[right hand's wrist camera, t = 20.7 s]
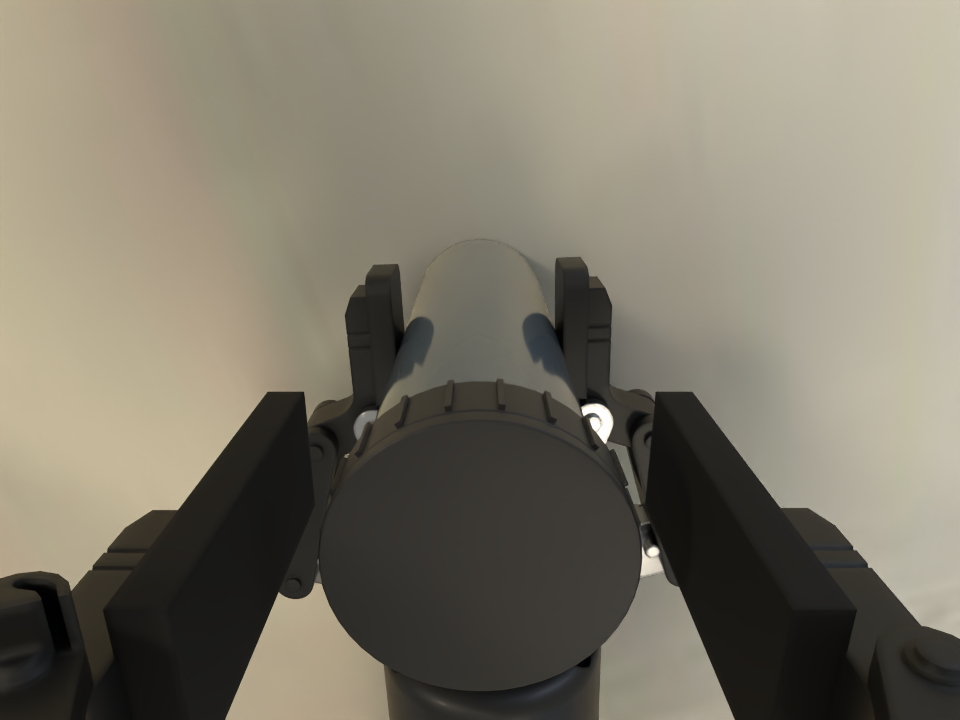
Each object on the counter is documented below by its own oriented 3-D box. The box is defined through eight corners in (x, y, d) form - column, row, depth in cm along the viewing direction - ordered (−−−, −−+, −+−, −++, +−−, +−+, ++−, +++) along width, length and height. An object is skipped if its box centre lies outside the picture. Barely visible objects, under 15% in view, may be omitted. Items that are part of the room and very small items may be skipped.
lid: (620, 625, 13) (638, 690, 12) (349, 631, 13) (332, 698, 12) (632, 371, 11) (655, 411, 10) (318, 381, 11) (294, 422, 10)
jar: (474, 212, 25) (466, 357, 10) (565, 293, 26) (676, 529, 11) (395, 304, 26) (287, 551, 11) (485, 378, 27) (491, 690, 13)
